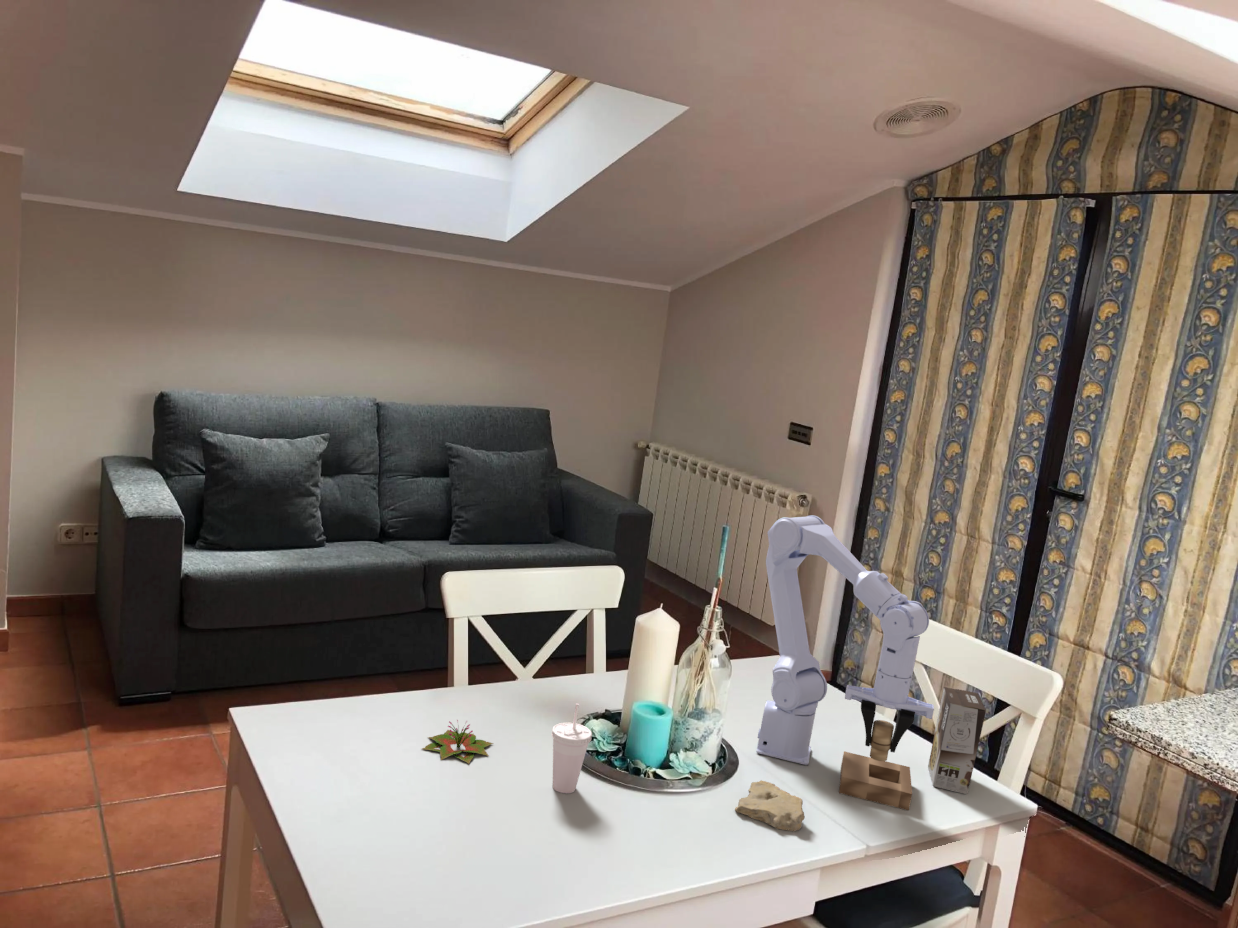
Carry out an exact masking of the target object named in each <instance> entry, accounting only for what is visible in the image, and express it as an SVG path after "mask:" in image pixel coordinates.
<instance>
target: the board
mask: <svg viewBox="0 0 1238 928" xmlns="http://www.w3.org/2000/svg"><path fill="white" fill-rule="evenodd" d="M841 760H842V761H841V764H840V777H839V786H838V787H839V789H838V790H839V791H838V793H839V794H841V795H845V796H850V797H853V798H857V799H861V800H864V801H865V800H866V801H869V802H874V803H877V804H881V805H885V806H889V807H893V806H894V807H893V808H897V809H901V810H905V811H910V807H911V802H912V797H913V787H912V776H911V767H910V766H907V765H902V764H899V763H894V762H889V761H887V760H886V761H877V760H874V759H872V758H871V757H870V756H865V755H860V754H858V753H857V754H856V753H854V752H853V753H852V752H848V751H843V754H842V759H841Z"/></svg>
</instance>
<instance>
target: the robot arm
mask: <svg viewBox="0 0 1238 928" xmlns="http://www.w3.org/2000/svg"><path fill="white" fill-rule="evenodd" d="M767 539H768V549H767V552H766V553H767V554H766V558H765V567H766V574H767V579H768V580H767V581H768V587H769V593H770V594H769V595H770V600H771V605H772V612H773V619H774V620H773V621H774V625H775V631H776V640H777V645H778V653H779V658H778V660H777V661H776V663H775V665H774V667H773V668H772V676H773V677H772V683H771V689H770V690H771V696H772V699H773V700H769V699H767V700H765V701H766V702H765V705H764V709H763V714H762V718H761V719H762V720H761V724H760V728H759V729H758V732H757V733H758V734H757V739H758V742H757V747H756V753H757V754H761V755H764V756H767V757H773V758H776V759H780V760H784V761H788V762H793V763H797V764H800V765H804V766H808V765H809V763H810V756H811V750H812V746H811V745H810V744H811V740H812V739H811V738H812V733H813V727H814V721H815V717H816V711H817V708H818V706H819V702H821V701H822V700H823V699H824V698H825V697H826V696H827V692H828V683H827V679H826V678H825V676H824V674H823V672H822V669H821V667H820V662H819V660H818V659H817V658H816V657H814V655H812V654H811V652H810V645H809V639H808V632H807V626H806V620H805V614H804V608H803V601H802V600H803V599H802V594H801V593H802V592H801V587H800V582H799V576H798V568H799V566H800V565H801V564H802V562H803V561H804V560H805V559H806V558H807V557H808V556H809V555H813V556H819V557H821V558H822V559H824V560H825V561H826V562H827V563H828V564H829V565H830V566H832V567H833V568H834V569H835V570H837V572H838V573H840V574H841V575H842V576H843V577H844V578H846V579H847V581H848V582H850V583H851V584H852V586H853V595H854V596H855V597H856V598H857V599H858V600H859V601H860V602H861V603H862V604H863V605H864V606H865V607H866V608H867V609H869V611H870V612H871V613H872V614H873V615H874V616H875V617H876V619H878V620H879V624H880V629H881V630H882V633H883V634H882V635H883V638H882V645H881V648H880V649H881V651H880V655H879V660H878V664H877V665H878V666H877V669H876V674H875V681H874V684H873V688H872V687H863V686H855V685H851V684H847V685H846V688H845V693H844V700H847V701H851V700H853V701H854V700H855V701H858V702H860V711H861V716H862V718H863V722H864V730H865V742H864V743H865V746H866V747H871V746H870V742H871V735H872V729H873V723H874V721H875V716H876V709H877V706H878V707H884V708H886V709H890V710H897V717H896V720H895V721H896V722H895V725H894V730H893V736H892V744H891V748H890V750H889V751H890V753H895V752H896V750H897V747H898V744H899V743H900V741H901V739H902V737H903V736H904V734H905V733H906V732H907V730H908V729H909V728H910V727H911V726H912V725H913V723H914V722H915V715H918V716H922V717H924V718H926V719H929V720H932V719H933V718H934V717H933V715H934V711H935V705H934V704H933V703H930V702H929V703H928V702H926V701H925V702H924V701H922V700H919V699H916V698H914V697H910V696H909V693H910V688H911V682H912V679H913V674H914V667H915V663H916V659H917V653H918V648H919V643H920V639H921V638H920V637H921V636H920V635H922V634H924V633H925V632H926V631H927V630H928V627H929V625H930V617H929V614H928V612H927V610H926V608H925V607H924V606H923V604H922V603H921V602H919V601H916V600H909V597H908V596H907V595H906V594H904V593H901V592H900V591H899V590H898V589H897V588H896V587H894V585H893V584H892V583H890V582H889V577H888V575H886V574H885V573H884V572H882V573H881V572H879V571H878V570H871V571H870V570H867V569H866V568H865V566H864V565H863V564H862V563H861V562H860V561H859V560H858V559H857V558H856V557H855V555H854V554H853V553H851V551H850V550H849V549H848V547H846V546H845V545H844V544H843V543H842V542H841V540H840V539H839V538H838V537H837V536H836V535H835V533H834V530H833V528H832V527H831V526H830V525H829V524H826V523H825V522H824V520H823V519H822V518H820V517H819V516H817V515H812V514H811V515H807V516H797V517H781V518H778V519H777V520H776V521H775V522H774V523H773V525H772V526H771V527H770V528H769V529H768V530H767Z"/></svg>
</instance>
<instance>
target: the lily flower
mask: <svg viewBox="0 0 1238 928" xmlns="http://www.w3.org/2000/svg"><path fill="white" fill-rule="evenodd" d="M456 722H457V723H459V720H458V719H456ZM448 723H449V724H450V725H451V726H450V725H447V727H448V728H450V729H447V730H446V732H444V733H442V734H437V735H433V736H429V737H427V738H428V739H431V740H432V741H435V742H431V743H429V744H427V745H425V747H422V748H421V750H426V751H427V750H429V751H433V752H434V751H435V752H439V754H440V761H442V760H444V759H446V758H448V757H450V756H453V757H455V758H457V759H460V760H461V761H464V762H466V763H467V764H468V765H469V764H470V762H471V761H472V760H473V759H474V756H475V753H476V754H479V755H484V756H488V757H489V756H490V755H489V754H488V752H487V751H486V749H485V748H486V747H488V746H491V745H494V743H493V742H490V741H487V740H483V739H477V735H475V734H474V733H473V730H470V731H469V732H468V733H467V732H466V731H467V730H468V729H470V726H471V723H470V724H468V725H467V726H466V727H465V726H463V727H462V729H461V732H459V730H460V726H459V725H457V727H455V726H454V725H453V723H452V722H451V721H448ZM465 723H468V720H466V721H465ZM464 727H465V728H464ZM451 745H452V746H453V745H456V748H459V749H460V748H461V746H463V747H464V749H460V750H459V749H457V750H454V749H453V747H452V746H451ZM462 752H464V753H465V754H464V756H463V755H461V754H460V753H462Z"/></svg>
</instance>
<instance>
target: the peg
mask: <svg viewBox="0 0 1238 928" xmlns="http://www.w3.org/2000/svg"><path fill="white" fill-rule="evenodd" d="M894 731H895V725H894V723H891V722H889V721H886V720H881V719H877V720H876V719H875V720H874V721H873V726H872V732H871V742H870V746H869V747H870V752H869V757H870V758H872V759H874V760H877V761H887V760H888V756H889V751H890V748H891V744H892V738H893V734H894Z"/></svg>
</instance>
